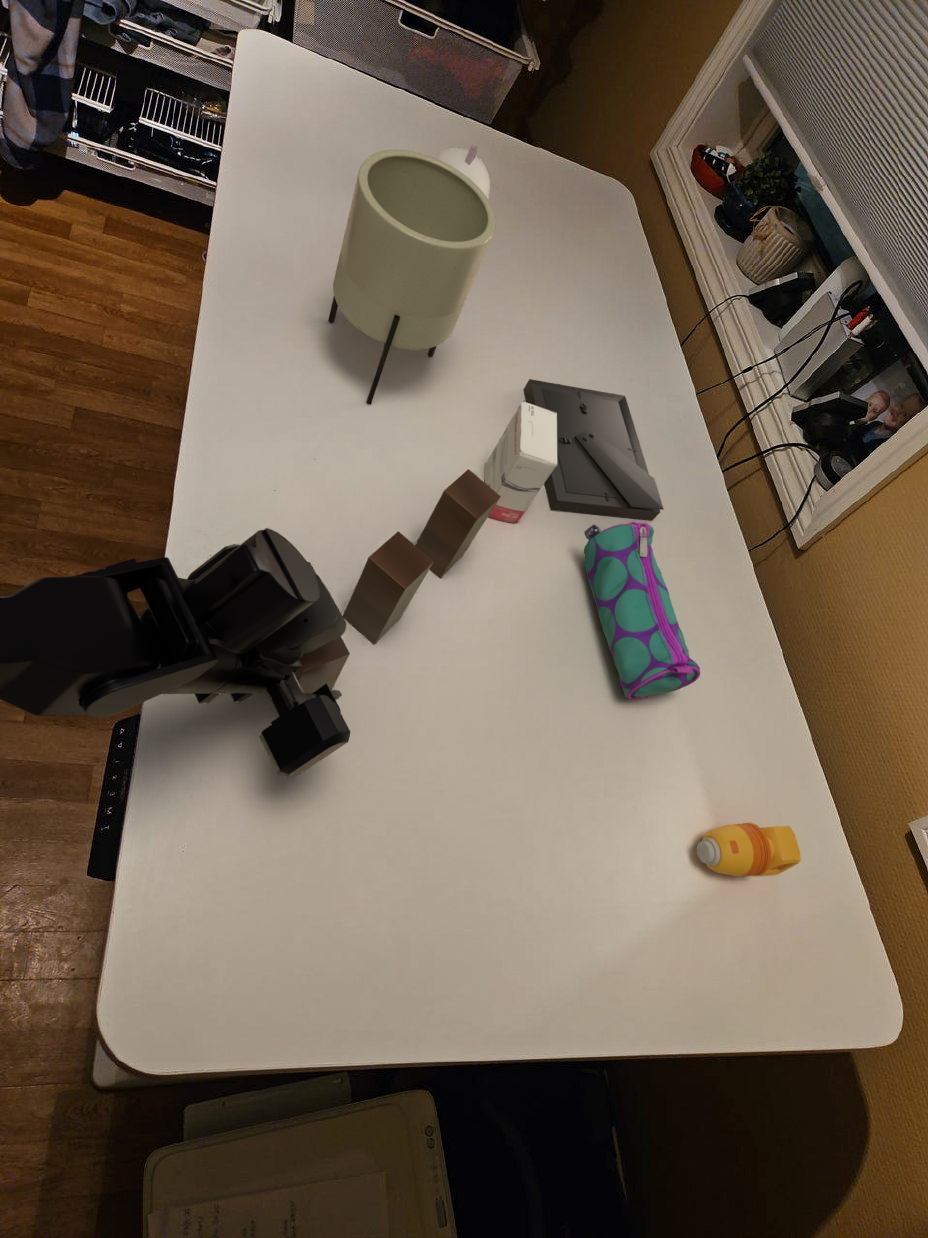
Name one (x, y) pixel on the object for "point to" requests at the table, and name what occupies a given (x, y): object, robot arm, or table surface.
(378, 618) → the walnut block
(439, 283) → the planter
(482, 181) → the ornament
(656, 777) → the table surface
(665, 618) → the pencil case
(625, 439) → the picture frame
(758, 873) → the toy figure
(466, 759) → the table surface
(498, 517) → the ink box
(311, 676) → the walnut block loose
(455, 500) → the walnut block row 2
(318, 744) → the robot arm
